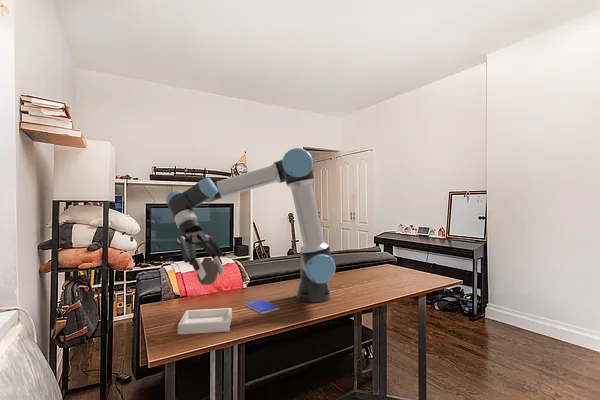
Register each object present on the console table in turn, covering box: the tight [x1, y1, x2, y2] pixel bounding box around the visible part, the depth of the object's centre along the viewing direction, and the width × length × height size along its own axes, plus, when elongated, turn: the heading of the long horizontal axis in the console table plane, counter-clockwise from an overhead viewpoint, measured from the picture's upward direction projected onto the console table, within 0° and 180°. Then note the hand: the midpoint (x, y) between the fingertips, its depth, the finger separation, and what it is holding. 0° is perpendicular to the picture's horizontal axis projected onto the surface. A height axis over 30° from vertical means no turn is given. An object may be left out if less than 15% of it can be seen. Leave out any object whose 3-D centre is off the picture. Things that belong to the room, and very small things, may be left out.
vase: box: [196, 257, 219, 286], centre depth 106 cm, size 7×7×9 cm
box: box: [177, 307, 233, 335], centre depth 106 cm, size 16×14×3 cm
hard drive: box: [245, 299, 280, 315], centre depth 124 cm, size 2×8×12 cm
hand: (213, 275), depth 104 cm, fingers closed on vase, 7 cm apart
